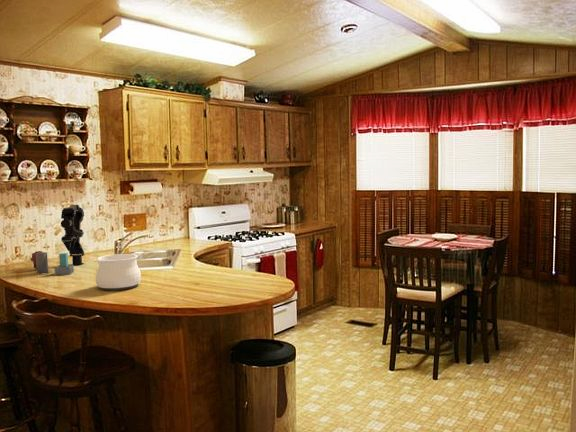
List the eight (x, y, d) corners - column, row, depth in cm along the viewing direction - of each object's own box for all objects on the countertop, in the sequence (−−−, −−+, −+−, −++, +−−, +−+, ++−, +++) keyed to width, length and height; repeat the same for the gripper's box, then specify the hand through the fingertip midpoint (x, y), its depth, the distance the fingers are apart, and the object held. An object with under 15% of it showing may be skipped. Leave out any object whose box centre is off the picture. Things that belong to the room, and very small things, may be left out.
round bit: (41, 271, 346) (40, 252, 345) (50, 272, 344) (49, 252, 343) (34, 273, 339) (33, 253, 338) (43, 274, 338) (42, 254, 337)
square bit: (62, 273, 340) (61, 253, 339) (68, 272, 341) (67, 252, 339) (60, 274, 336) (59, 254, 335) (66, 274, 337) (65, 253, 335)
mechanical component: (33, 271, 347) (29, 269, 355) (49, 269, 353) (45, 267, 361) (31, 253, 346) (28, 251, 354) (48, 251, 352) (44, 249, 360)
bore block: (59, 272, 342) (58, 264, 342) (73, 271, 343) (73, 264, 343) (55, 275, 333) (54, 267, 333) (69, 274, 335) (69, 266, 334)
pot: (128, 279, 316) (126, 250, 314) (153, 284, 300) (151, 254, 299) (84, 288, 294) (82, 257, 292) (108, 294, 279) (106, 262, 277)
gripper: (78, 227, 343) (79, 251, 345) (85, 224, 362) (86, 247, 363) (60, 228, 342) (61, 252, 343) (68, 225, 360) (69, 247, 362)
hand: (70, 249), depth 353 cm, fingers open, 9 cm apart
